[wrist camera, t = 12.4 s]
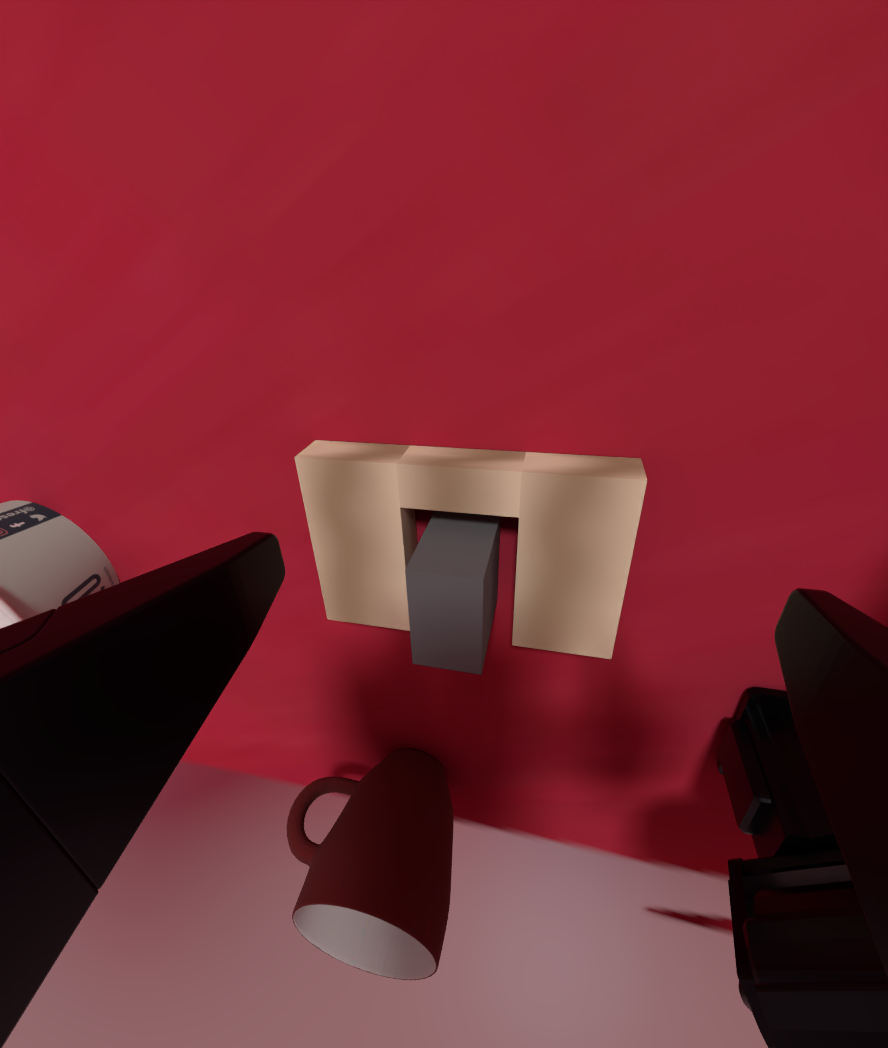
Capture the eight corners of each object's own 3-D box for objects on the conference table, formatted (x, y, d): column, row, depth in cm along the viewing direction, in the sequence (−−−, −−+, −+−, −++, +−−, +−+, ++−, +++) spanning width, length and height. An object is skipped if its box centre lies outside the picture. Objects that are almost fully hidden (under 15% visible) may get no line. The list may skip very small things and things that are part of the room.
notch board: (640, 458, 19) (647, 480, 17) (608, 629, 24) (611, 659, 22) (315, 440, 22) (294, 457, 20) (343, 595, 27) (327, 619, 25)
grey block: (500, 513, 22) (483, 579, 18) (497, 599, 24) (481, 674, 20) (436, 507, 22) (405, 570, 18) (439, 592, 25) (412, 663, 21)
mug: (330, 774, 36) (257, 934, 28) (325, 705, 32) (237, 870, 24) (466, 813, 35) (432, 995, 27) (480, 746, 31) (444, 938, 22)
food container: (-62, 459, 29) (-212, 512, 23) (116, 504, 27) (1, 573, 22) (10, 608, 35) (-94, 677, 30) (157, 651, 34) (76, 732, 28)
